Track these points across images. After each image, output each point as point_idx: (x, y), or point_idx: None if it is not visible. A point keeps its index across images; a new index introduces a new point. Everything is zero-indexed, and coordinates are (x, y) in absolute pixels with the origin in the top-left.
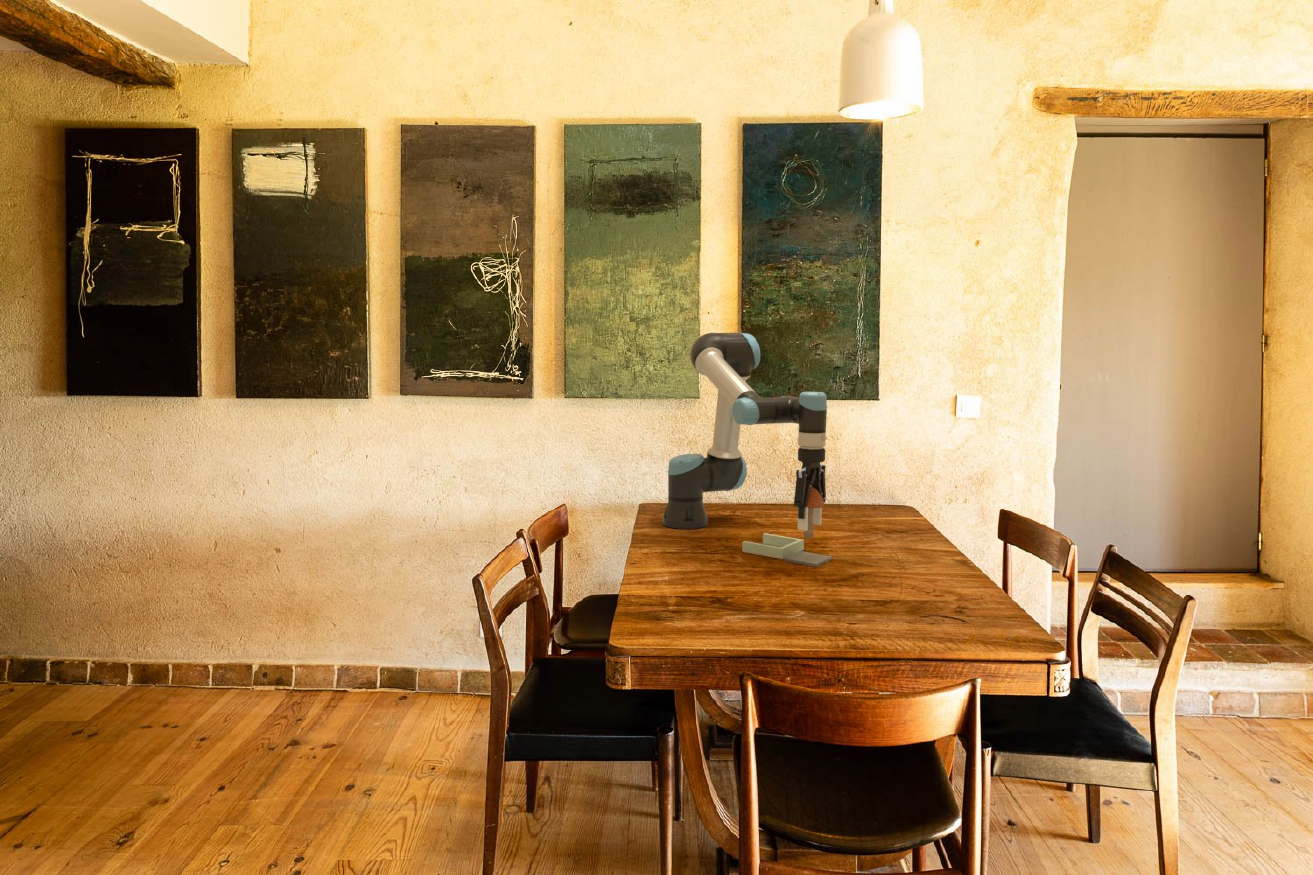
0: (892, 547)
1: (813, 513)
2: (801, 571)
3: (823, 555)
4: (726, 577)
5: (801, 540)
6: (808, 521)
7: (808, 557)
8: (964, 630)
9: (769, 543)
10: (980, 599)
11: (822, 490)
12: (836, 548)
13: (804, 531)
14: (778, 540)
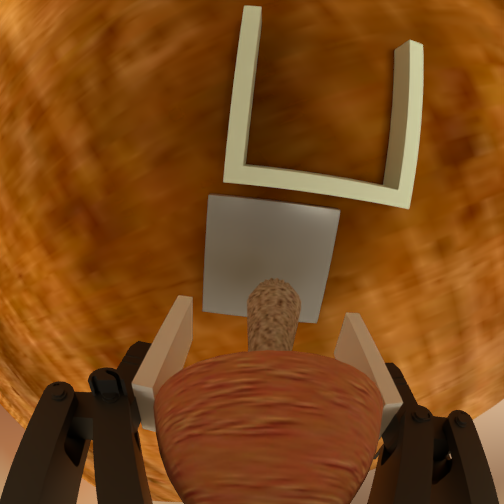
0: (464, 376)
1: (359, 358)
2: (136, 283)
3: (316, 298)
4: (5, 147)
5: (395, 203)
6: (248, 348)
7: (266, 265)
8: (91, 468)
9: (396, 71)
10: None
11: (431, 491)
12: (439, 285)
13: (252, 297)
14: (401, 103)
